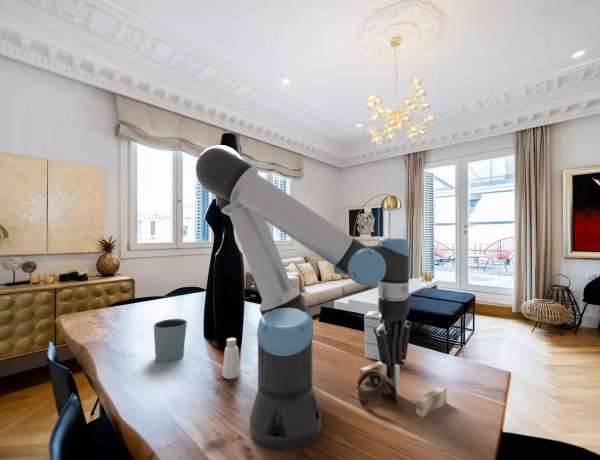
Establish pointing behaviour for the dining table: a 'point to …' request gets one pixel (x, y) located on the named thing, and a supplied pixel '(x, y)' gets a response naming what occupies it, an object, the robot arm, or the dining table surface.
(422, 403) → the rail cradle
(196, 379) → the dining table surface
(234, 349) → the pepper shaker
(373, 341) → the syrup box
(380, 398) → the pottery mug
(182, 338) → the green planter pot
